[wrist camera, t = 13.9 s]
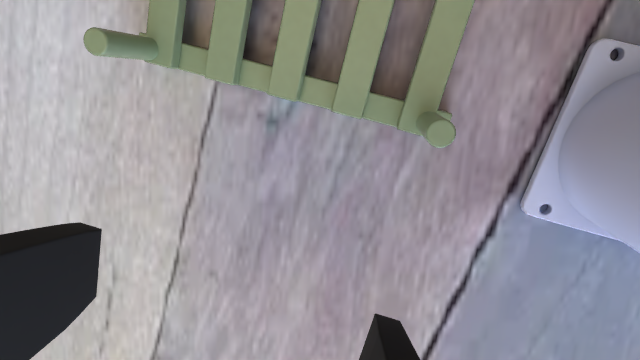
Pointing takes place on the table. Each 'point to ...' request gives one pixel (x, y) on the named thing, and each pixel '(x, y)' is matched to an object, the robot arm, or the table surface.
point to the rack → (306, 58)
